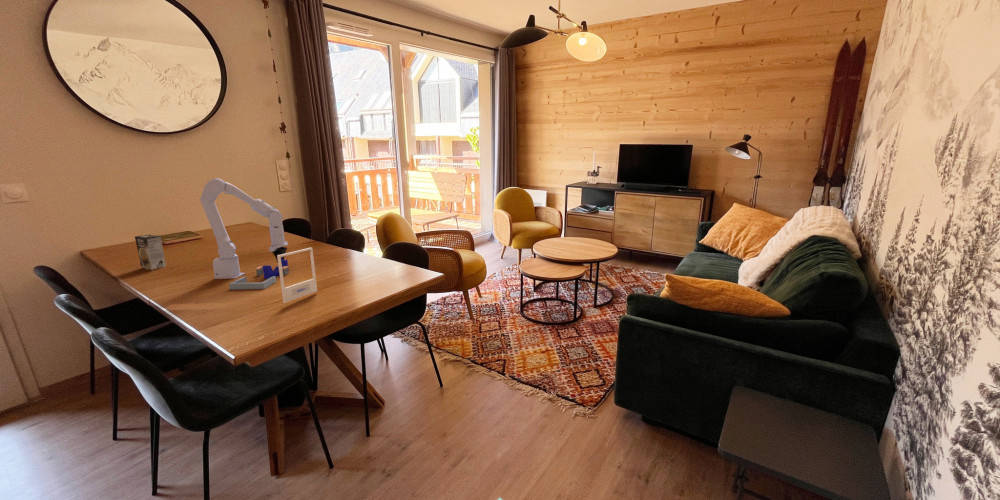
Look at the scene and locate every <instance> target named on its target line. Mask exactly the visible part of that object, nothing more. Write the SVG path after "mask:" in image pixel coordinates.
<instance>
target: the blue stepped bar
mask: <svg viewBox="0 0 1000 500" xmlns="http://www.w3.org/2000/svg"><path fill="white" fill-rule="evenodd" d="M288 262H289V261H288V259H284V260H281V263H282V267H284V266H288V267H289V263H288ZM262 267H263V278H264V279H265V280H267V279H269V278H271V277H272V276H276V278H277V277H280V274H279V266H278V265H277V266H275V268H274V269H273V268H272V265H266V264H265V265H262ZM289 271H290V270H289V268H288V272H289Z"/></svg>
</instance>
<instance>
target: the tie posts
mask: <svg viewBox="0 0 1000 500" xmlns="http://www.w3.org/2000/svg"><path fill="white" fill-rule="evenodd" d="M288 269H289V265H288V266H284V267H282V271H283V276H287V275H288V274H290V273H289V271H288ZM255 271H256V272H255V273H256V276H257V277H260V276H262V275H263V276H264V273H263V266H258V267H255Z"/></svg>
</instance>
